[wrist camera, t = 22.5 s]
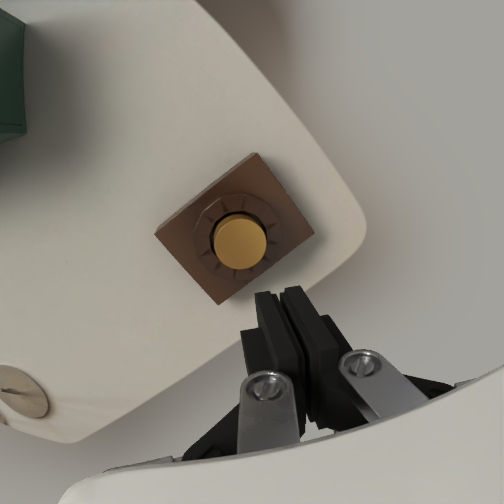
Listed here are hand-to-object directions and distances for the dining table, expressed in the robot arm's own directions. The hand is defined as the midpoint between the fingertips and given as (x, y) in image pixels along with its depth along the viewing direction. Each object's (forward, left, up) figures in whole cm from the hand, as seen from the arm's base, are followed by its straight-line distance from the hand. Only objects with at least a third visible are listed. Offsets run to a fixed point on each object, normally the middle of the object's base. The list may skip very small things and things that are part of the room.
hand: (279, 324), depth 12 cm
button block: (0, 0, -17) cm, 17 cm away
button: (0, 0, -13) cm, 13 cm away
